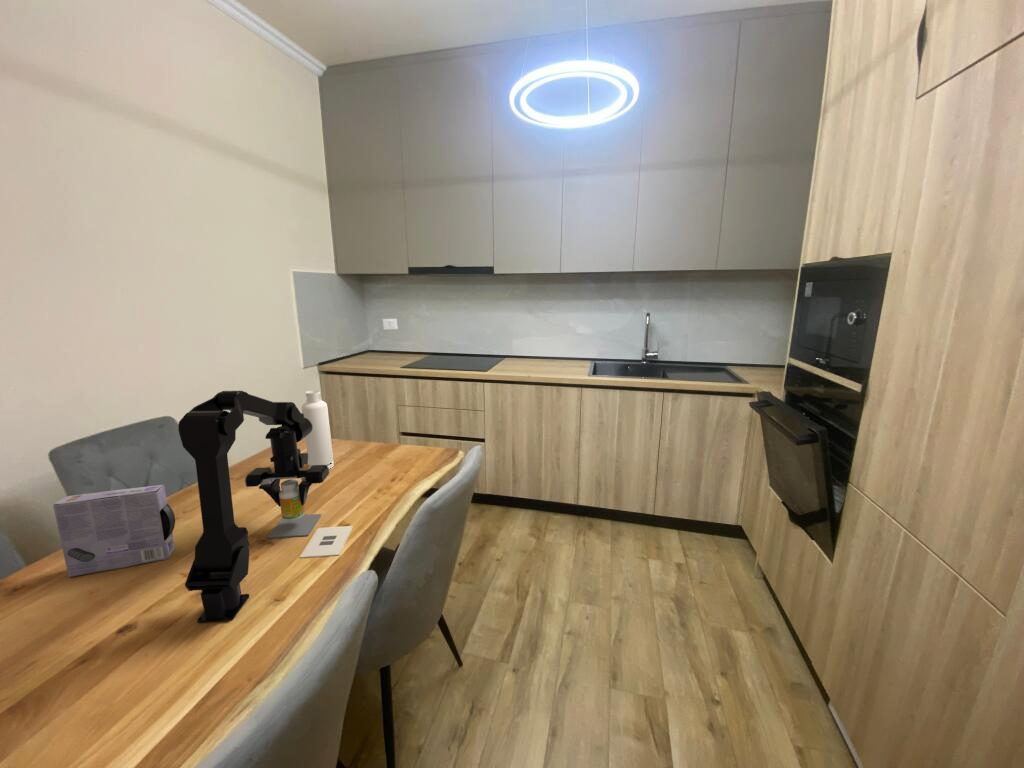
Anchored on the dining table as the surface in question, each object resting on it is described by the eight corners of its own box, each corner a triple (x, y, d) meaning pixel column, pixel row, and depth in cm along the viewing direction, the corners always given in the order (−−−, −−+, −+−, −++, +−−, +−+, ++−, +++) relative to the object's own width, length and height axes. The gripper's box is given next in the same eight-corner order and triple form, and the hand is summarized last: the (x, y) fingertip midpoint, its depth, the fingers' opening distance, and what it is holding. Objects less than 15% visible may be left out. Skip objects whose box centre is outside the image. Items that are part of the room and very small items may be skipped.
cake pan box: (182, 546, 100) (168, 481, 96) (174, 558, 96) (159, 490, 92) (81, 565, 94) (61, 495, 90) (67, 579, 89) (46, 506, 85)
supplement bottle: (295, 522, 105) (290, 488, 103) (277, 520, 106) (272, 486, 104) (309, 511, 110) (305, 478, 108) (292, 509, 111) (287, 477, 109)
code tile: (339, 555, 97) (339, 554, 97) (299, 558, 96) (299, 556, 96) (353, 526, 108) (353, 525, 108) (318, 529, 107) (317, 528, 107)
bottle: (311, 464, 147) (301, 389, 141) (335, 461, 150) (327, 388, 143) (307, 473, 140) (297, 395, 134) (332, 470, 142) (324, 393, 136)
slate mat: (307, 536, 104) (307, 534, 104) (266, 538, 103) (266, 537, 103) (321, 515, 114) (321, 513, 114) (284, 517, 113) (283, 516, 113)
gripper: (332, 437, 112) (338, 489, 116) (261, 440, 111) (269, 492, 114) (318, 452, 102) (325, 509, 105) (239, 456, 100) (248, 513, 103)
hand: (292, 505), depth 107 cm, fingers closed on supplement bottle, 5 cm apart
